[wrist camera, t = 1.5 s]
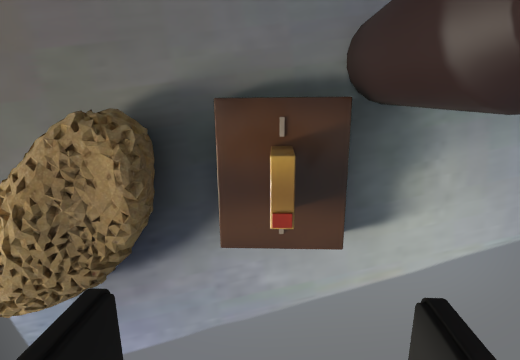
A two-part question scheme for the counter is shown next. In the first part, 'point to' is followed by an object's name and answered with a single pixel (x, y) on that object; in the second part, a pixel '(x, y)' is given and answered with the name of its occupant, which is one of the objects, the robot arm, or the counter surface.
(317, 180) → the lock plate
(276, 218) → the thumbturn
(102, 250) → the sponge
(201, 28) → the counter surface
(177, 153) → the counter surface
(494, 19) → the bottle
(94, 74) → the counter surface
